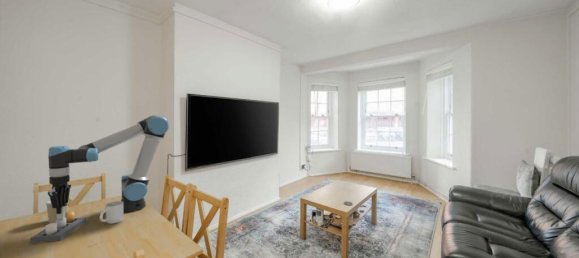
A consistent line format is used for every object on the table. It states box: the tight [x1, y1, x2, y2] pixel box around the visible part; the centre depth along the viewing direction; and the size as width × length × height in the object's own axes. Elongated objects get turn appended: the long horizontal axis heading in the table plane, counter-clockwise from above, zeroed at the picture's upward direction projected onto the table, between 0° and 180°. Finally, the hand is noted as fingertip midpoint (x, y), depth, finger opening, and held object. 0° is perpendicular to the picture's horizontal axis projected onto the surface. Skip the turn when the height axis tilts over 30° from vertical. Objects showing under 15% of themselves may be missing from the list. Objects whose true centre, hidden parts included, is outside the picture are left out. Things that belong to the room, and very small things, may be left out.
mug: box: [99, 200, 125, 225], centre depth 131 cm, size 12×8×10 cm
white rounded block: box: [44, 223, 57, 236], centre depth 113 cm, size 4×4×5 cm
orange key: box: [65, 210, 76, 223], centre depth 126 cm, size 4×4×5 cm
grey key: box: [56, 218, 66, 229], centre depth 120 cm, size 4×4×5 cm
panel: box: [30, 217, 87, 244], centre depth 120 cm, size 12×20×2 cm, turn 14°
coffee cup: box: [45, 199, 70, 224], centre depth 131 cm, size 9×9×12 cm
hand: (61, 218), depth 120 cm, fingers closed
